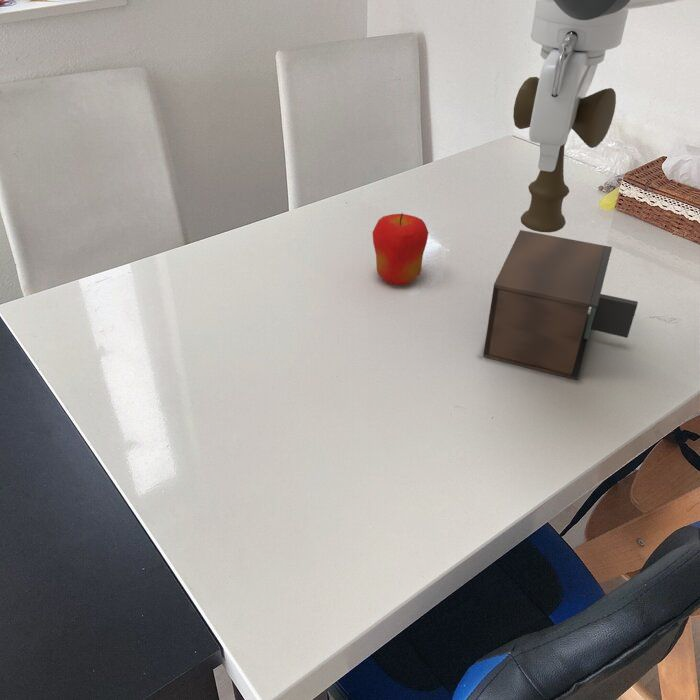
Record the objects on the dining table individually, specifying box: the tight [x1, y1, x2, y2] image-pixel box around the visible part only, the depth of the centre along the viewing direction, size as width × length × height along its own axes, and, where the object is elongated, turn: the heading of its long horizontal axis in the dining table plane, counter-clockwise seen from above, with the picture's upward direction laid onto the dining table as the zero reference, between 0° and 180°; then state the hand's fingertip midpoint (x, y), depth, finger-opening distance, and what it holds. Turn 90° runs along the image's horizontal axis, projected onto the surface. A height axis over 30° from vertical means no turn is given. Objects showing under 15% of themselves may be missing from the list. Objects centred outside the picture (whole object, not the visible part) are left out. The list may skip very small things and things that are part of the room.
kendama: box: [512, 76, 617, 234], centre depth 75 cm, size 6×10×20 cm, turn 51°
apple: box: [371, 212, 429, 286], centre depth 108 cm, size 9×8×12 cm
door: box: [584, 293, 639, 340], centre depth 96 cm, size 6×8×11 cm, turn 157°
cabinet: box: [482, 229, 613, 381], centre depth 95 cm, size 13×16×12 cm
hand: (552, 156), depth 76 cm, fingers closed on kendama, 6 cm apart
